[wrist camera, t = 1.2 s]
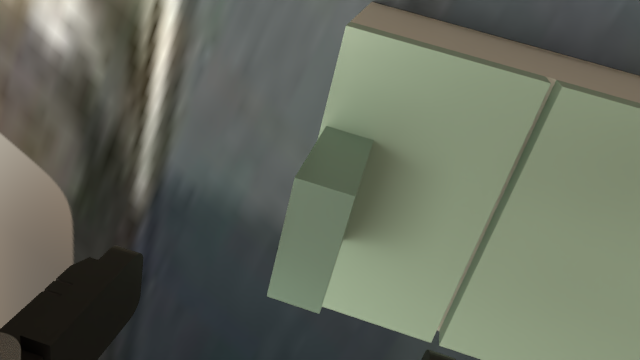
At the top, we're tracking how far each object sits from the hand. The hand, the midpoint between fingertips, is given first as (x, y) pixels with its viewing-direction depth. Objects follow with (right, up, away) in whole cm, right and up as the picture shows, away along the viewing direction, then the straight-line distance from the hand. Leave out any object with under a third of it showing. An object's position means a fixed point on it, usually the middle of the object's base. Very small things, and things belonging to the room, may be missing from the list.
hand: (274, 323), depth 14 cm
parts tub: (+10, +5, +14) cm, 18 cm away
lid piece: (+5, +4, +9) cm, 11 cm away
